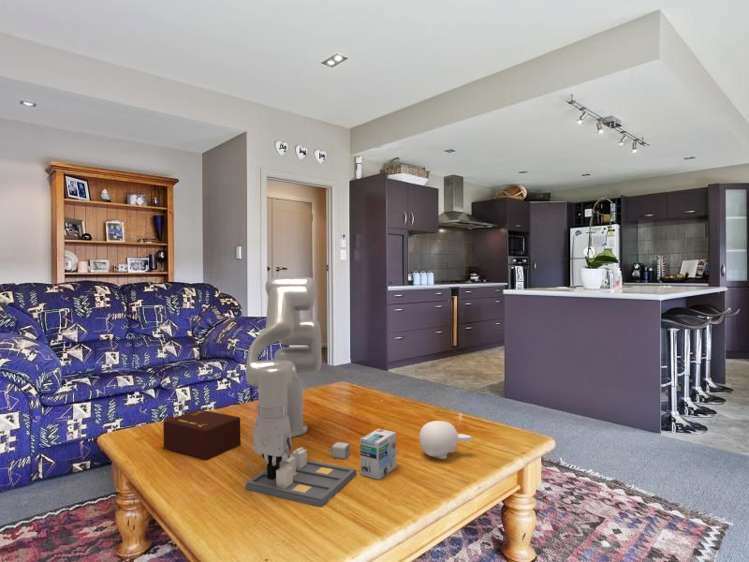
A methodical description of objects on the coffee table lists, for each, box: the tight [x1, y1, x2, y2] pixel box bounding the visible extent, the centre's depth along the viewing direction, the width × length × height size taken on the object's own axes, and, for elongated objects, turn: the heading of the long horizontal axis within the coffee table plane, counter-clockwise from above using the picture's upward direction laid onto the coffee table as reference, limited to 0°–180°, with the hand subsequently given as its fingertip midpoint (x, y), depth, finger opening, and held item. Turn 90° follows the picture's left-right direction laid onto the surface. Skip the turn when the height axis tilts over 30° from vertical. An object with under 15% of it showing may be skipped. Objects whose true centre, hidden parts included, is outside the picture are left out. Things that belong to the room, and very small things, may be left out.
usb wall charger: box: [326, 441, 351, 460], centre depth 145 cm, size 4×7×4 cm, turn 70°
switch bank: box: [244, 459, 357, 508], centre depth 127 cm, size 24×20×2 cm
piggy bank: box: [418, 420, 472, 460], centre depth 145 cm, size 12×12×15 cm
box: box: [162, 409, 242, 461], centre depth 154 cm, size 21×16×10 cm
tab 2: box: [276, 464, 293, 489], centre depth 122 cm, size 3×3×5 cm
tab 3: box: [291, 446, 308, 469], centre depth 134 cm, size 3×3×5 cm
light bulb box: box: [359, 428, 397, 481], centre depth 134 cm, size 11×7×11 cm, turn 148°
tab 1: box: [280, 454, 296, 474], centre depth 129 cm, size 3×3×5 cm
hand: (273, 477), depth 124 cm, fingers closed
